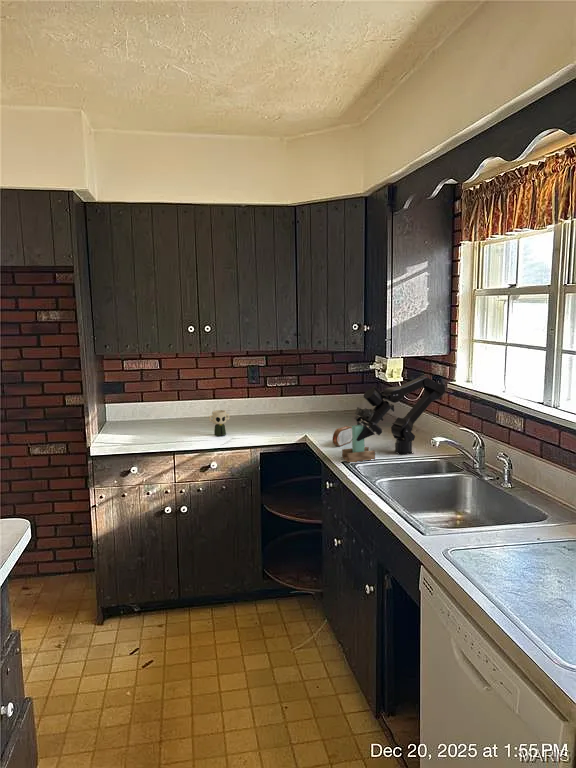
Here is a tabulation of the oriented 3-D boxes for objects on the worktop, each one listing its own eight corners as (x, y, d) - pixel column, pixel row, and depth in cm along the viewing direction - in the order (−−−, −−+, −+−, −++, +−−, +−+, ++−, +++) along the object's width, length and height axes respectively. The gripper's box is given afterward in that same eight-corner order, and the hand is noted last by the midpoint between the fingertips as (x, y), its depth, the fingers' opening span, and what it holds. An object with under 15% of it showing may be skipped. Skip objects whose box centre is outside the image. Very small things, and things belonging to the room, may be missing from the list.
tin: (349, 440, 283) (349, 424, 281) (354, 441, 281) (354, 424, 280) (332, 447, 271) (331, 430, 270) (337, 448, 269) (337, 430, 268)
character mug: (211, 438, 296) (210, 413, 295) (208, 435, 303) (207, 411, 301) (232, 435, 301) (231, 411, 299) (228, 432, 307) (227, 409, 305)
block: (361, 453, 252) (360, 424, 250) (364, 455, 248) (364, 426, 246) (352, 454, 251) (352, 425, 249) (355, 456, 247) (355, 427, 245)
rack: (367, 455, 255) (367, 446, 255) (374, 460, 247) (374, 451, 247) (342, 458, 252) (342, 449, 252) (348, 463, 244) (348, 454, 244)
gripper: (358, 397, 256) (335, 423, 255) (374, 404, 238) (350, 432, 237) (374, 412, 259) (352, 439, 258) (392, 421, 241) (368, 449, 240)
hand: (355, 439), depth 248 cm, fingers closed on block, 4 cm apart
